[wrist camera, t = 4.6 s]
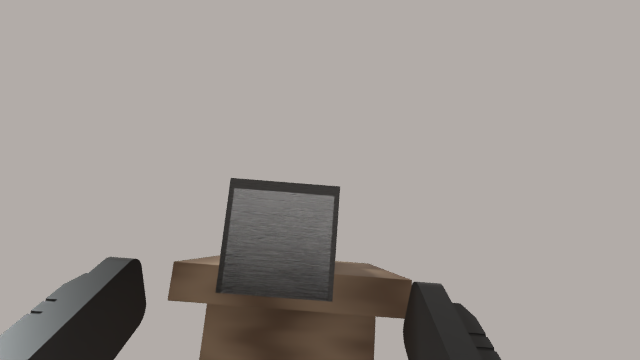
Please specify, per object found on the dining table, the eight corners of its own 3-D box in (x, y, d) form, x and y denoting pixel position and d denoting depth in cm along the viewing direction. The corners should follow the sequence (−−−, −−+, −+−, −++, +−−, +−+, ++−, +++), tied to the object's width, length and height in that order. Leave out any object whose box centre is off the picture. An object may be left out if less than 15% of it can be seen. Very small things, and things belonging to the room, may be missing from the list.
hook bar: (185, 290, 9) (208, 141, 10) (274, 257, 29) (279, 210, 30) (362, 304, 9) (369, 153, 10) (328, 261, 29) (331, 214, 30)
